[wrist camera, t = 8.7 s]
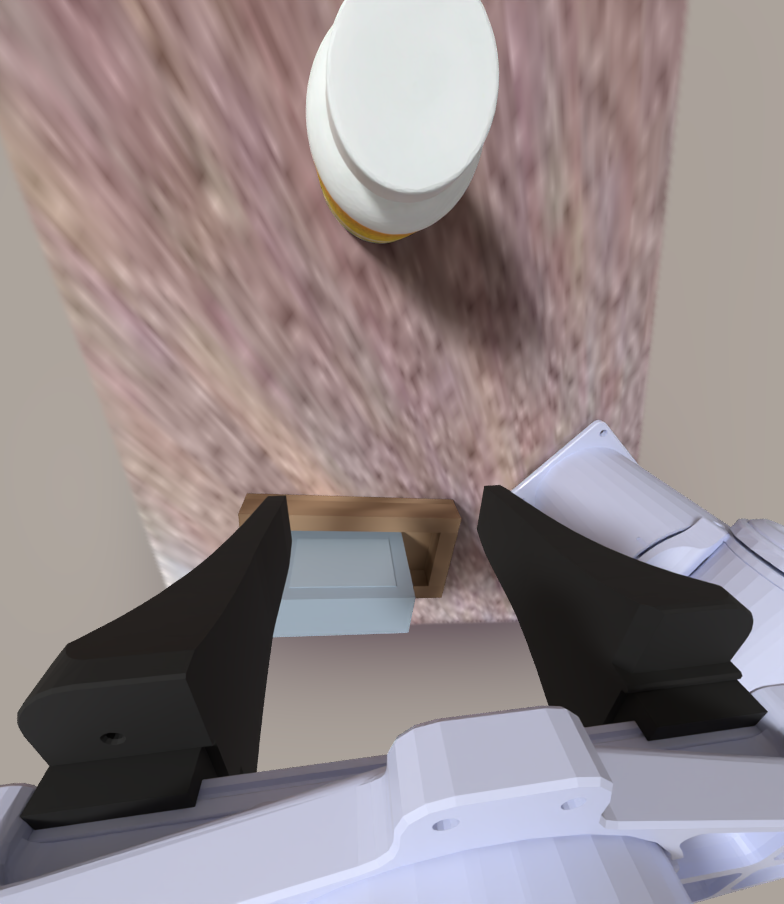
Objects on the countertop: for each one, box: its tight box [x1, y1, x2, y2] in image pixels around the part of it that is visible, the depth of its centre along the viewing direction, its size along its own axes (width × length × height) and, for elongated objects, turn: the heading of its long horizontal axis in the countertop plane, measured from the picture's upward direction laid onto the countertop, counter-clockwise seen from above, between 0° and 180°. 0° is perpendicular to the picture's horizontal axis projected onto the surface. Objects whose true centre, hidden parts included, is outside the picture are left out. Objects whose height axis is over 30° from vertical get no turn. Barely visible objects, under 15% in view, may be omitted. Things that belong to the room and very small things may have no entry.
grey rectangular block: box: [273, 531, 415, 637], centre depth 23 cm, size 8×3×6 cm, turn 83°
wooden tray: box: [238, 494, 461, 598], centre depth 25 cm, size 14×7×2 cm, turn 83°
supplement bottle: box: [306, 0, 499, 243], centre depth 12 cm, size 5×5×10 cm
